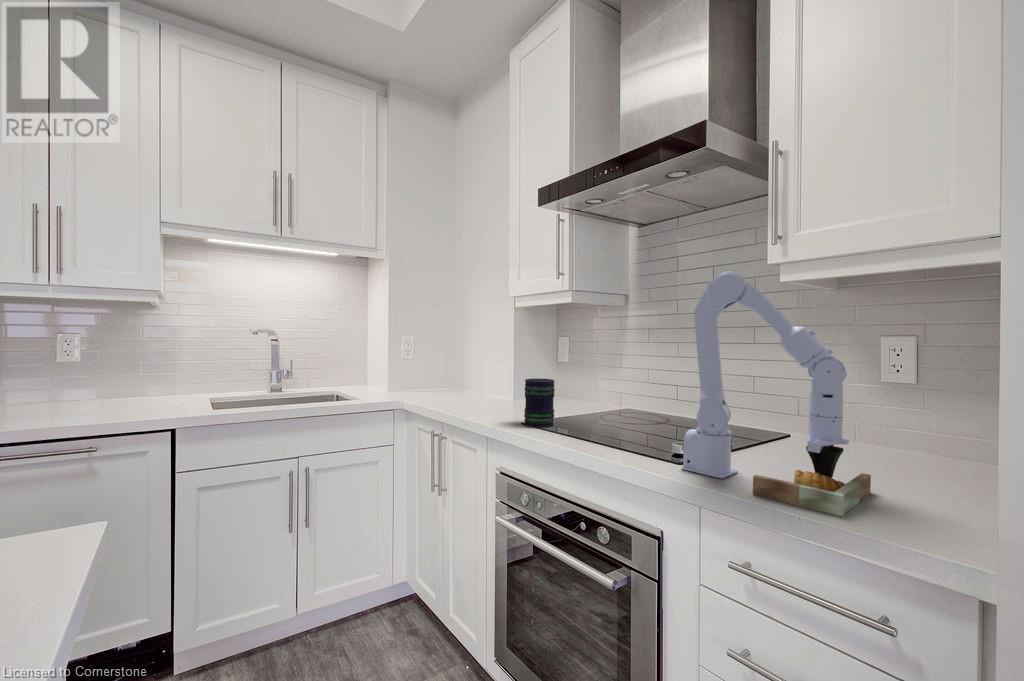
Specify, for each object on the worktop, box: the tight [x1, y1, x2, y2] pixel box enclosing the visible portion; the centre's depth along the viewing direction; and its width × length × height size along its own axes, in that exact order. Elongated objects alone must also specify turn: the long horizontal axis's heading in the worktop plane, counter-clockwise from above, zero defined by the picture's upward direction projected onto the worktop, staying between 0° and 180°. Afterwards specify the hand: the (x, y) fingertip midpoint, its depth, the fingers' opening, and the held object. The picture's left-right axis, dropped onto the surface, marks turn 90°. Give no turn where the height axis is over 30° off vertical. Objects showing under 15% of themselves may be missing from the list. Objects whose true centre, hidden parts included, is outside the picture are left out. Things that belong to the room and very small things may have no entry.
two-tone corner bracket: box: [752, 472, 872, 517], centre depth 93 cm, size 14×20×4 cm
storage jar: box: [523, 378, 556, 429], centre depth 158 cm, size 10×10×15 cm
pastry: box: [793, 469, 846, 492], centre depth 94 cm, size 9×7×4 cm
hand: (823, 482), depth 97 cm, fingers closed
